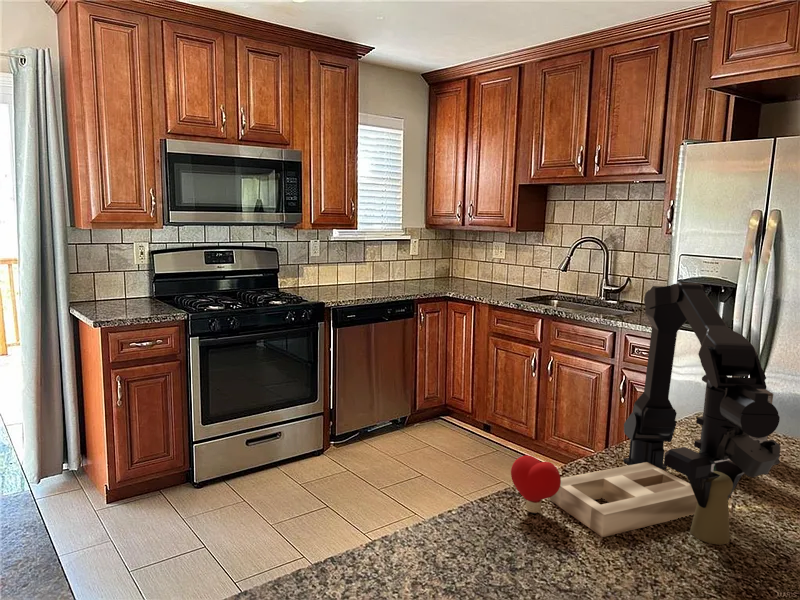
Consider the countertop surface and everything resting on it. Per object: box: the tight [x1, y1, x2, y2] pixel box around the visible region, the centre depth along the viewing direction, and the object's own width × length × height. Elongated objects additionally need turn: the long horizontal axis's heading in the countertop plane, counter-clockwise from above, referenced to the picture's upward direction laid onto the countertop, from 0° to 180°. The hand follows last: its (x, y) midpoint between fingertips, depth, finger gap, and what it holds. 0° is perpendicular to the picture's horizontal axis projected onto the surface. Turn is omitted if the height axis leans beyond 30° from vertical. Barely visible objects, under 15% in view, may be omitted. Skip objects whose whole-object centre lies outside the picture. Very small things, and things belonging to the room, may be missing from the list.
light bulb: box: [510, 455, 562, 515], centre depth 106 cm, size 9×7×10 cm
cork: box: [689, 471, 733, 546], centre depth 101 cm, size 6×6×11 cm
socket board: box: [549, 462, 697, 538], centre depth 110 cm, size 14×24×4 cm, turn 114°
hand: (712, 504), depth 101 cm, fingers closed on cork, 5 cm apart
